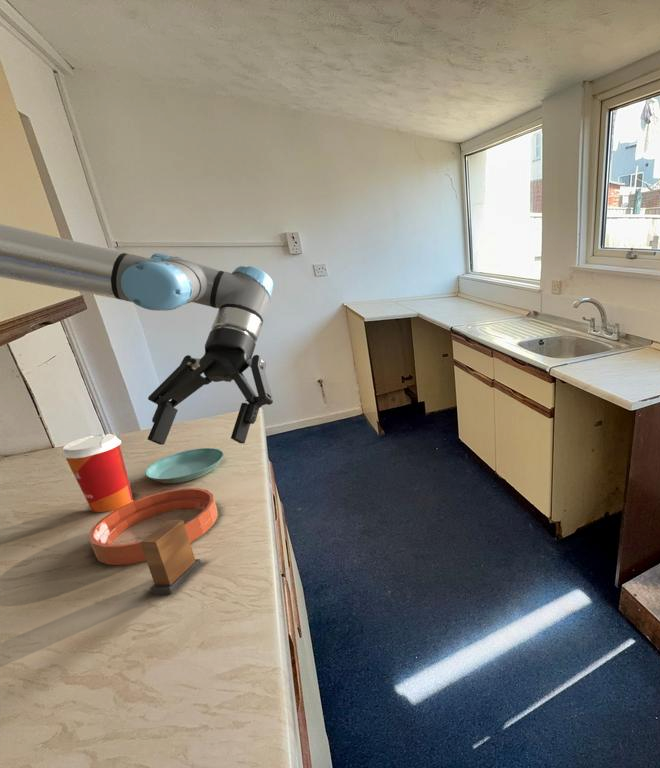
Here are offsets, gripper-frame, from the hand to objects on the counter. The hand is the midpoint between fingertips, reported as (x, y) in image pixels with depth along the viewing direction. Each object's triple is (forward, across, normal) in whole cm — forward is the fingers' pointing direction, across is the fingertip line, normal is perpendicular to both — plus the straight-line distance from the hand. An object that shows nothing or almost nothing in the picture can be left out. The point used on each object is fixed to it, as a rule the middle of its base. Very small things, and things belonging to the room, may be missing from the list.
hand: (196, 441), depth 67 cm
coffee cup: (+7, +29, -21) cm, 37 cm away
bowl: (+13, +12, -15) cm, 23 cm away
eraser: (+21, 0, -6) cm, 22 cm away
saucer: (-3, +24, -31) cm, 40 cm away
